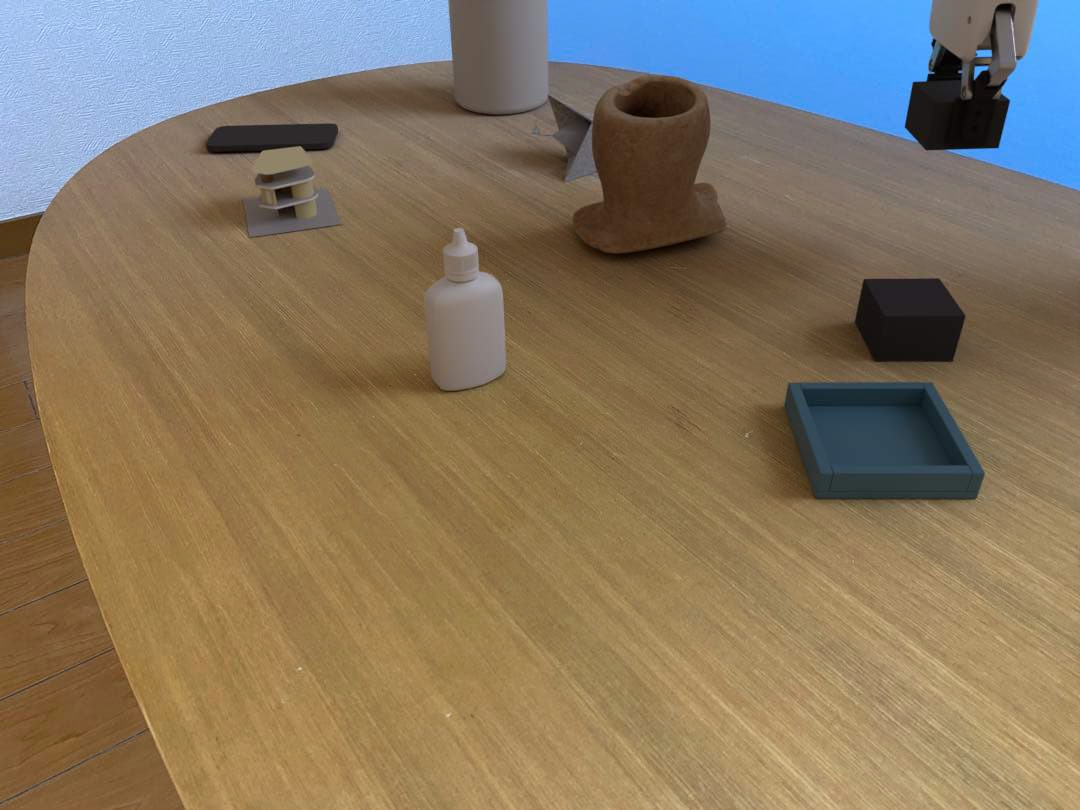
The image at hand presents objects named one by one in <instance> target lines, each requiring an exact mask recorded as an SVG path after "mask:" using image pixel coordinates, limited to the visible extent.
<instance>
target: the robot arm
mask: <svg viewBox="0 0 1080 810" xmlns="http://www.w3.org/2000/svg"><path fill="white" fill-rule="evenodd" d="M1039 1H1040V0H932V2H931V7H930V14H929V22H928V29H929V34H930V36H931V37H932V39H931V42H930V43H931V47H932V52H931V54H930V57H929V60H928V63H927V70H928V72H929V73H927V75H926V76H927V77H926V81H951V80H962V81H961V97H955V100H954V104H953V109H952V114H951V118H950V123H949V128H948V133H947V137H946V144H947V145H948V146H949V147H982V146H984V145H986V143H987V140H988V136H989V132H990V128H991V124H992V119H993V115H994V111H995V107H996V102H997V100H998V99H999V98H1000V96H1001V94H1002V90H1003V87H1004V86H1005V85H1006V82H1008V78H1009V77H1010V76H1011V75H1012V73H1014V72H1015V70H1016V67H1017V62H1018V61H1021V60H1022V59H1024V57H1026V55H1027V54H1028V51H1029V48H1030V43H1031V40H1032V34H1033V31H1034V25H1035V21H1036V17H1037V12H1038V7H1039ZM977 51H991V56H978V55H979V54H978V53H977ZM976 67H979V68H980V67H987V69H985V70H981V71H980V72H979V73H978V74H977V76H976V77H975V75H976V73H975V72H976Z"/></svg>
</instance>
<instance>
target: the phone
mask: <svg viewBox="0 0 1080 810" xmlns="http://www.w3.org/2000/svg"><path fill="white" fill-rule="evenodd" d="M338 133H339V125H338V124H336V123H331V122H329V123H328V122H327V123H324V122H323V123H285V124H283V123H281V124H245V125H241V124H240V125H221V126H217V127H216V128H215V129H214V130H213V131H212V133H211V135H210V136H209V137H208V139H207V141H206V142H205V148H206V150H207V151H208V152H214V153H216V152H217V153H218V152H249V151H250V152H253V151H254V152H256V151H257V152H258V151H259V152H260V151H261V152H262V151H265V150H273V149H282V148H290V147H298V146H301V147H302V148H303V149H304V150H326V149H330V148H332V147H334V144H335V142H336V139H337V137H338Z"/></svg>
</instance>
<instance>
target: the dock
mask: <svg viewBox="0 0 1080 810" xmlns="http://www.w3.org/2000/svg"><path fill="white" fill-rule="evenodd" d="M783 406H784V409H785V413H786V416H787V419H788V421H789V424H790V427H791V430H792V434H793V436H794V439H795V442H796V445H797V449H798V451H799V454H800V457H801V460H802V463H803V466H804V469H805V473H806V475H807V478H808V481H809V483H810V487H811V489H812V493H813V496H814V499H869V500H870V499H876V500H877V499H883V500H885V499H891V500H893V499H897V500H898V499H913V500H914V499H921V500H922V499H925V500H927V499H928V500H929V499H932V500H933V499H934V500H935V499H937V500H938V499H939V500H941V499H942V500H943V499H945V500H946V499H949V500H950V499H954V500H958V499H960V500H961V499H969V500H971V499H975V500H976V499H977V498H978V496H979V493H980V490H981V487H982V484H983V481H984V479H985V475H986V472H985V470H984V469H983V467H982V465H981V464H980V461H979V460H978V457H976V455H975V454H974V451H973V450H972V448H971V446H970V444H969V443H968V441H967V440H966V438H965V436H964V434H963V433H962V430H961V429H960V427H959V426H958V424H957V422H956V421H955V419H954V417H953V415H952V414H951V412H950V410H949V409H948V407H947V405H946V403H945V401H944V400H943V398H942V396H941V395H940V393H939V391H938V390H937V387H936V386H935V384H934V382H932V381H922V382H921V381H900V382H899V381H851V382H850V381H845V382H844V381H842V382H841V381H839V382H838V381H836V382H835V381H833V382H832V381H831V382H830V381H827V382H826V381H825V382H824V381H820V382H817V381H813V382H811V381H808V382H806V381H805V382H802V381H801V382H787V388H786V395H785V401H784V405H783Z"/></svg>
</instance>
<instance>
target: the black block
mask: <svg viewBox="0 0 1080 810" xmlns="http://www.w3.org/2000/svg"><path fill="white" fill-rule="evenodd" d="M855 313H856V314H855V319H854V323H855V325H856V327H857V330H858V331H859V333H860V335H861V338H862V339H863V341H864V344H865V346H866V347H867V349H868V351H869V353H870V355H871V357H872V359H873V361H874V362H953V361H954V359H955V356H956V352H957V348H958V345H959V341H960V338H961V335H962V332H963V328H964V324H965V320H966V314H965V312H964V311H963V310H962V308H961V306H959V304H958V302H957V301H956V300H955V298H954V297H953V295H952V294H951V292H950V290H948V289H947V287H946V286H945V284H944V283H943V281H942V280H941V278H939V277H938V278H935V277H931V278H929V277H927V278H925V277H924V278H863V280H862V284H861V290H860V294H859V299H858V304H857V309H856V312H855Z"/></svg>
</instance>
